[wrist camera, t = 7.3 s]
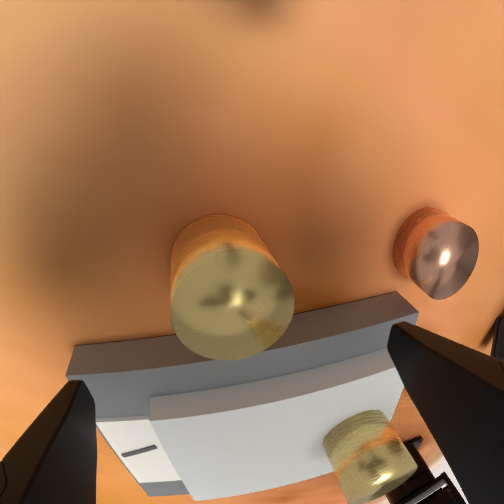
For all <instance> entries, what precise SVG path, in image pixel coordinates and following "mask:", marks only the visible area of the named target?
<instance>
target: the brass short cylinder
mask: <svg viewBox="0 0 504 504" xmlns="http://www.w3.org/2000/svg"><path fill="white" fill-rule="evenodd" d="M322 446H323V448H324V451H325V453H326V455H327V457H328V460H329V462H330V464H331V466H332V468H333V471H334V473H335V475H336V477H337V479H338V482H339V484H340V486H341V488H342V490H343V492H344V495H345V497H346V499H347V501H348V503H349V504H362V503H366V502H369V501H371V500H374V499H376V498H379V497H381V496H383V495H385V494H387V493H388V492H390V491H392V490H394V489H395V488H397V487H398V486H400V485H401V484H402V483H404V482H405V481H406V480H407V479H409V478H410V477H411V476H412V475H413V474H414V473H415V471H416V470H417V467H418V466H417V464H416V463H415V461H414V459H413V458H412V456H411V455H410V453H409V452H408V450H407V448H406V447H405V445H404V444H403V442H402V441H401V439H400V437H399V436H398V434H397V433H396V431H395V430H394V428H393V426H392V425H391V423H390V422H389V420H388V419H387V417H386V416H385V414H384V413H383V412H382V411H380V410H368V411H364V412H361V413H358V414H356V415H354V416H351V417H349V418H347V419H346V420H344V421H342V422H341V423H339V424H338V425H337V426H335V427H334V428H333V429H332V430H331V431H330V432H329V433H328V434H327V435H326V436H325V438H324V440H323V442H322Z"/></svg>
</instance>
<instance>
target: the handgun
mask: <svg viewBox="0 0 504 504" xmlns="http://www.w3.org/2000/svg"><path fill="white" fill-rule="evenodd" d="M490 356H491V357H493V358H496V359H498V360H501V361H503V362H504V317H502V318H499V317H497V318H496V323H495V331H494V337H493V344H492V350H491V355H490Z"/></svg>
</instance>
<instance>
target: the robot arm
mask: <svg viewBox="0 0 504 504" xmlns="http://www.w3.org/2000/svg"><path fill="white" fill-rule="evenodd" d="M387 350H388V353H389V355H390V357H391V359H392V361H393V363H394V365H395V368H396V370H397V372H398V374H399V376H400V378H401V381H402V383H403V385H404V387H405V389H406V391H407V392H408V394H409V396H410V398H411V399H412V401H413V403H414V404H415V406H416V408H417V410H418V411H419V413H420V415H421V416H422V418H423V420H424V421H425V423H426V425H427V427H428V428H429V430H430V432H431V434H432V435H433V437H434V439H435V441H436V443H437V444H438V446H439V448H440V450H441V451H442V453H443V455H444V457H445V459H446V461H447V462H448V464H449V466H450V468H451V470H452V471H453V473H454V475H455V477H456V479H457V481H458V483H459V485H460V487H461V488H462V491H463V493H464V495H465V497H466V499H467V501H468V503H469V504H504V362H503V361H501V360H498V359H496V358H493V357H491V356H489V355H486V354H484V353H481V352H479V351H476V350H474V349H471V348H469V347H467V346H464V345H462V344H459V343H457V342H454V341H452V340H449V339H447V338H445V337H442V336H440V335H437V334H435V333H432V332H430V331H428V330H425V329H423V328H420V327H418V326H415V325H413V324H411V323H408V322H406V321H402V322H398V323H395V324H393V325H392V327H391V330H390V334H389V338H388V343H387ZM422 441H423V438H422V436H421V437H418V438H416V439H414V440H412V441H410V442H408V443H406V444H404V445H405V447H406V448H407V450H408V452H409V453H410V455H411V456H412V458H413V459H414V461H415V463H416V464H417V466H418V467H417V470H416V471H415V473H414V474H413V475H412V476H411V477H410V478H409V479H407V480H406V481H405V482H404V483H402V484H401V485H400V486H398V487H397V488H395V489H394V490H392V491H390V492H388V493H387V494H385V495H386V497H387V499H388V501H389V503H390V504H415V503H416V504H466V503H465V501H464V499H463V498H462V496H461V495H460V493H459V492H458V490H457V489H456V487H455V486H454V485H453V483H452V482H451V480H450V479H449V477H448V476H447V474H446V473H445V472H443V473H442V474H441V475H440V476H438V477H437V478H436V479H435V477H434V476H433V474H432V473H431V471H430V469H429V467H428V465H427V464H426V462H425V461H424V459H423V458H422V456H421V455H420V453H419V452H418V450H417V449H418V447H419V446H420V444H421V442H422ZM2 460H3V461H0V504H96V470H97V438H96V410H95V401H94V398H93V397H92V395H91V393H90V391H89V389H88V387H87V386H86V384H85V382H84V381H83V380H70V381H68V382H67V383H66V384H65V385H64V387H63V388H62V389H61V390H60V391H59V392H58V393H57V395H56V396H55V397H54V398H53V399H52V400H51V402H50V403H49V404H48V405H47V406H46V407H45V408H44V410H43V411H42V412H41V413H40V414H39V415H38V417H37V418H36V419H35V420H34V421H33V423H32V424H31V425H30V426H29V427H28V429H27V430H26V431H25V432H24V433H23V434H22V436H21V437H20V438H19V439H18V441H17V442H16V443H15V444H14V445H13V447H12V448H11V449H10V450H9V452H8V453H7V454H6V455H5V456H4V458H3V459H2ZM444 484H446V487H444V488H443V489H442V488H440V489H438V488H439V487H441V486H442V485H444ZM437 489H438V490H437ZM435 490H437V491H435ZM434 491H435V492H434ZM432 492H433V493H432ZM431 493H432V494H431ZM429 494H431V495H429ZM428 495H429V496H428ZM426 496H428V497H426ZM425 497H426V498H425ZM423 498H425V499H423ZM421 499H423V500H421ZM420 500H421V501H420ZM418 501H420V502H418ZM417 502H418V503H417Z"/></svg>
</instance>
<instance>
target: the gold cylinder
mask: <svg viewBox="0 0 504 504" xmlns="http://www.w3.org/2000/svg"><path fill="white" fill-rule="evenodd" d="M294 306H295V299H294V293H293V289H292V286H291V284H290V282H289V280H288V279H287V277H286V275H285V274H284V272H283V271H282V269H281V268H280V266H279V265H278V263H277V262H276V260H275V259H274V257H273V256H272V254H271V253H270V251H269V250H268V248H267V247H266V245H265V244H264V242H263V241H262V239H261V238H260V236H259V235H258V233H257V232H256V231H255V229H254V228H253V227H252V226H251V225H249V224H248V223H247V222H245V221H244V220H242V219H240V218H238V217H235V216H231V215H225V214H215V215H209V216H205V217H202V218H199V219H197V220H195V221H193V222H192V223H190V224H189V225H188V226H187V227H185V228H184V229H183V230H182V232H181V233H180V234H179V235H178V237H177V238H176V240H175V242H174V245H173V248H172V252H171V278H170V317H171V323H172V326H173V329H174V331H175V333H176V335H177V337H178V338H179V340H180V341H181V342H182V343H183V344H184V345H185V346H186V347H187V348H189V349H190V350H191V351H193V352H195V353H196V354H199V355H201V356H203V357H206V358H210V359H215V360H238V359H243V358H247V357H250V356H253V355H255V354H258V353H260V352H262V351H263V350H265V349H267V348H268V347H270V346H271V345H272V344H274V343H275V342H276V341H277V340H278V339H279V338H280V337H281V336H282V335H283V333H284V332H285V330H286V329H287V327H288V326H289V324H290V322H291V319H292V316H293V312H294Z"/></svg>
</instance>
